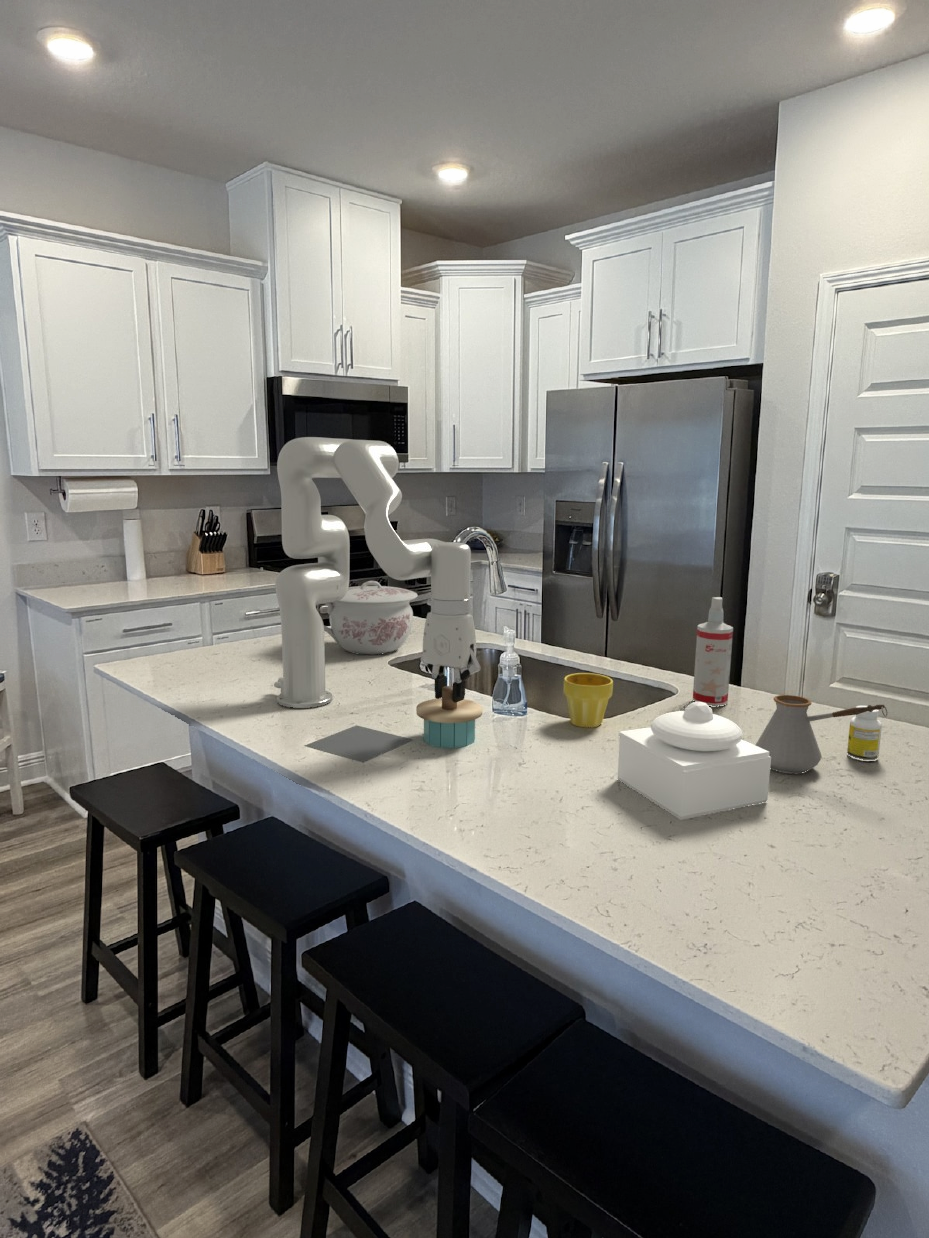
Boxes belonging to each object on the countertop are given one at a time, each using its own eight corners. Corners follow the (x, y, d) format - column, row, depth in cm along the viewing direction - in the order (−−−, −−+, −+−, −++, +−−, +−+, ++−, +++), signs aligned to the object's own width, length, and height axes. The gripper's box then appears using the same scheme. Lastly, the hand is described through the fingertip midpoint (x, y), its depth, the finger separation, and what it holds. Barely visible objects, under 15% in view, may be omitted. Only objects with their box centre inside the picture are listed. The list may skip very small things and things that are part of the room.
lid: (402, 714, 155) (402, 690, 154) (441, 699, 165) (441, 675, 164) (458, 727, 148) (458, 701, 147) (494, 710, 158) (495, 686, 157)
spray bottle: (714, 696, 191) (721, 594, 186) (733, 705, 184) (742, 599, 179) (686, 699, 188) (693, 595, 184) (705, 708, 181) (712, 600, 177)
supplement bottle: (852, 750, 155) (857, 702, 153) (882, 757, 152) (888, 708, 150) (842, 757, 152) (847, 708, 150) (872, 765, 148) (878, 714, 146)
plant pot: (610, 732, 164) (612, 686, 162) (560, 728, 166) (562, 683, 164) (611, 717, 174) (613, 674, 172) (564, 713, 176) (565, 671, 174)
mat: (304, 748, 153) (304, 745, 153) (356, 727, 165) (356, 725, 165) (363, 765, 145) (363, 762, 144) (413, 742, 157) (413, 739, 157)
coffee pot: (743, 767, 146) (750, 688, 143) (766, 751, 155) (773, 676, 152) (869, 799, 132) (879, 713, 129) (886, 779, 141) (896, 698, 138)
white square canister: (680, 821, 124) (687, 723, 121) (615, 779, 140) (620, 692, 137) (767, 803, 131) (775, 711, 128) (695, 766, 147) (701, 683, 144)
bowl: (414, 743, 156) (414, 714, 155) (443, 730, 164) (443, 702, 163) (455, 754, 151) (456, 724, 150) (484, 739, 159) (484, 711, 158)
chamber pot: (433, 645, 242) (434, 578, 238) (389, 665, 218) (388, 590, 214) (355, 636, 253) (354, 572, 249) (304, 654, 229) (302, 583, 225)
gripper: (404, 605, 154) (404, 696, 157) (475, 614, 145) (474, 711, 148) (427, 600, 160) (427, 687, 163) (497, 609, 151) (495, 701, 154)
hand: (449, 698), depth 156 cm, fingers open, 3 cm apart
